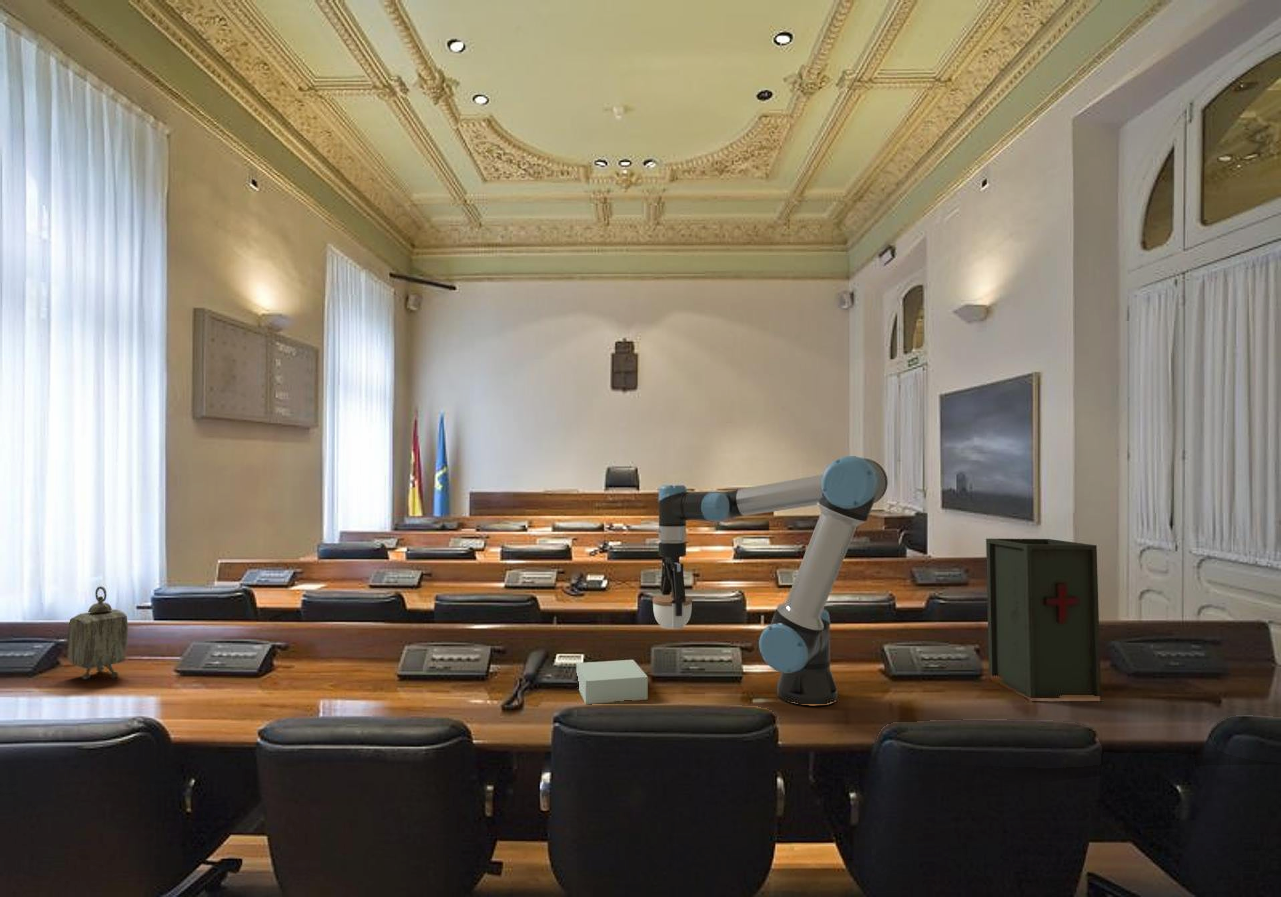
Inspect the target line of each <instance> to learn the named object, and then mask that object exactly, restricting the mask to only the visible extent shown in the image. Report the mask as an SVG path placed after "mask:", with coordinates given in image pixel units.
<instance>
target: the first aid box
mask: <svg viewBox="0 0 1281 897" xmlns="http://www.w3.org/2000/svg"><path fill="white" fill-rule="evenodd" d="M985 550H986V555H985V556H986V590H987V591H986V594H987V595H986V596H987V605H986V606H987V640H988V641H987V643H988V646H987V648H988V652H987V653H988V674H989V673H990V674H991V675H992V676H994V675H995V676H996V675H997V676H999V677H1000V678H1002V679H1003V680H1005V681H1001V682H1003V683H1004V684H1006V685H1007V686H1009V687H1010V688H1012V689H1014V690H1016V691H1017V692H1020V693H1021V694H1024V695H1025V696H1027V697H1029V698H1060V697H1059V696H1060V695H1061V696H1062V695H1094V696H1101V697H1102V683H1101V682H1102V681H1101V680H1102V679H1101V678H1102V676H1101V652H1100V649H1101V646H1100V644H1101V642H1100V615H1099V614H1100V613H1099V585H1098V584H1099V580H1098V579H1099V578H1098V549H1097V545H1095V544H1090V543H1082V542H1081V543H1080V542H1074V541H1069V540H1060V539H1059V540H1058V539H1051V538H985Z"/></svg>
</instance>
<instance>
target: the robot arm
mask: <svg viewBox="0 0 1281 897" xmlns="http://www.w3.org/2000/svg"><path fill="white" fill-rule="evenodd" d="M888 479H889V478H888V476H887V472H886V470H885V469H884V468H883V467H882V465H881V464H879V463H878V462H876V461H875V460H872V459H870V458H865V457H859V456H857V455H855V456H854V455H850V456H844V457H841V458H838V459H836V460H834V461H832V462H831V463H830V464H829V465H828V466H827V467H826V469H825V470H824V472H823V474H819V475H812V476H807V477H801V478H796V479H790V480H785V481H779V482H773V483H769V484H761V485H756V486H751V487H746V488H745V487H744V488H740V489H735V490H734V489H733V490H728V491H723V492H721V491H719V492H713V491H711V492H689V491H688V492H687V488H686V486H685V485H683V484H682V485H681V484H680V485H677V484H676V485H675V484H673V485H670V484H669V485H667V484H665V485H661V486H660V487H659V488H658V489H659V490H658V501H657V503H658V529H657V530H656V533H658V540H659V542H658V556H660V557H661V558H662V559H661V575H660V576H661V578H660V588H659V590H660V592H661V595H670V592H672V593H673V600H672V601H671V604H672V620H673V629H676V628H682V629H684V628H683V603H684V602H686V598H685V596H686V589H685V578H684V577H685V575H684V563H681V561H680V558H682V557H686V556H687V543H686V542H685V541H686V540H687V521H699V522H711V523H713V522H723V521H725V520H730V519H735V518H740V517H745V516H752V515H758V514H765V513H772V512H779V511H785V510H793V509H798V508H799V509H800V508H805V507H806V508H807V507H812V506H818V507H819V509H820V514H819V518H817V522H816V525H815V527H814V530H813V532H812V535H811V537H810V540H809V542H808V545H807V548H806V550H805V553H804V555H803V558H802V561H801V563H800V565H799V568H798V570H797V573H796V576H795V578H794V581H793V583H792V587H791V588H790V591H789V594H788V596H787V599H786V601H785V602H782V603H781V604H778V605H777V607H776V609H775V611H774V614H773V616H772V619H771V622H770V625H767V626H766V627H765V628H764V629H763V630H762V632H761V634H760V636H759V641H758V648H759V652H760V654H761V657H762V659H763V661H764V662H765V663H766V664H767V665H768V666H769V667H770V668H771V669H773V670H774V671H776V672H779V673H780V676H779V679H778V682H777V686H776V688H777V689H776V691H777V692H776V694H777V697H778V696H779V697H780V698H782V699H783V700H782V699H781V700H782V701H784V700H786V701H789V702H795V703H798V704H827V703H830V702H834V701H835V700H837V701H838V690H837V689H838V688H837V686H836V683H835V679H834V678H833V673H832V671H831V641H830V640H831V632H830V631H831V626H830V625H831V618H830V614H829V613H830V612H828V610H827V609H825V606H826V604H827V602H828V599H829V597H830V594H831V591H832V589H833V587H834V584H835V581H836V579H837V577H838V574H839V572H840V569H841V567H842V564H843V562H844V559H845V557H846V554H847V552H848V550H849V547H850V544H851V542H852V541H853V536H854V535H855V532H856V529H857V527H859V526H860V525H863V524H865V523H867V521H868V519H869V516H870V513H871V511H872V509H873V507H874V504H875V503H877V502H879V501H880V500H881V499H883V497H884V496H885V495H886V492H887V490H888V485H889V480H888ZM676 630H677V629H676ZM779 697H778V698H779ZM780 698H779V699H780ZM786 701H785V702H786ZM789 702H788V703H789Z"/></svg>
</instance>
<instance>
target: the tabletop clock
mask: <svg viewBox="0 0 1281 897" xmlns="http://www.w3.org/2000/svg"><path fill="white" fill-rule="evenodd" d="M100 590H102V593H103V594H104V595H103V596H98V592H99V591H100ZM94 593H95V599H96V601H97V602H96V603H93V604H92V605H91V606H90V607H89V608H88V612H83V613H79V614H77V615H76V616H73V617H72V618H70V619H69V624H68V634H67V660H68V662H69V663H70V664H71V665H73V666H76V667H79V668H83V669H86V672H85V673H84V674H82V679H83V680H88V679H90V677H91V674H90V671H91V669H94V668H96V671H97V672H98V673H99V672H102V671H104V668H106V669H108V670H109V672H110V673H111V675H110V677H111V678H112V679H116V678H118V677H119V672H118V671H114V669H113V667H112V665H115V664H120V663H123V662H125V660H126V656H127V647H128V616H127V615H126V613H125V612H124V611H121V610H120V609H113V608H112V606H111V605H110V604H109V602H106V599H107V589H106V588H105V587H104V586H101V585H100V586H98V587H97V588H96V589H95V592H94Z"/></svg>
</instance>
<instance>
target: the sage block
mask: <svg viewBox="0 0 1281 897" xmlns="http://www.w3.org/2000/svg"><path fill="white" fill-rule="evenodd" d="M576 673H577V676H578V681H579V689H578V691H579V693H580V695H581V697H582V699H583V701H584V702H583V703H584V704H585V705H592V704H595V705H596V704H605V703H615V702H614V701H620V702H625V701H624V700H632V701H641V700H645V701H646V700H648V698H649V697H648V695H649V694H648V690H649V689H648V687H649V686H648V684H649V683H648V682H649V678H648V675H647V674H646V673H645V672H644V671H643V669H642V668H641V667H640V666H639V665H638V663H637V662H636V661H635V660H634V659H625V660H623V659H622V660H621V659H620V660H607V661H591V662H588V661H587V662H577V663H576Z"/></svg>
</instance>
